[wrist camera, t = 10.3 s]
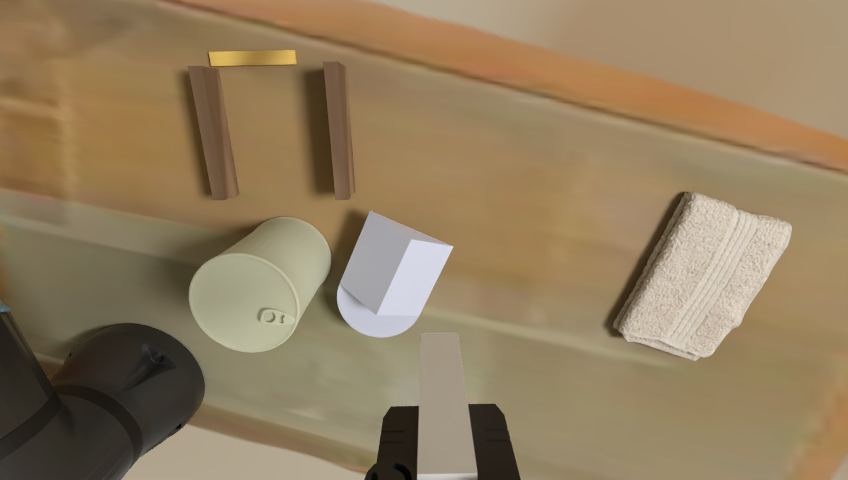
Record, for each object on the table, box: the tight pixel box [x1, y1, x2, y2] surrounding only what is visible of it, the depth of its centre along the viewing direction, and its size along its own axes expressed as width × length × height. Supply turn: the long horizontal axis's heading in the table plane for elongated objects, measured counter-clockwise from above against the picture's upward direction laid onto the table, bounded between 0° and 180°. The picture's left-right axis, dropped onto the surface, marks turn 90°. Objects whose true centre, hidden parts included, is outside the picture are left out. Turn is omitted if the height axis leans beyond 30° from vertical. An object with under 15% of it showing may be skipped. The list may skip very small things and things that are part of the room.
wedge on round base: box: [337, 211, 453, 337], centre depth 41 cm, size 9×7×13 cm
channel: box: [188, 50, 355, 200], centre depth 37 cm, size 13×14×4 cm
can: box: [189, 217, 331, 353], centre depth 37 cm, size 9×9×12 cm
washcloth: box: [612, 192, 792, 361], centre depth 43 cm, size 12×18×3 cm, turn 162°
